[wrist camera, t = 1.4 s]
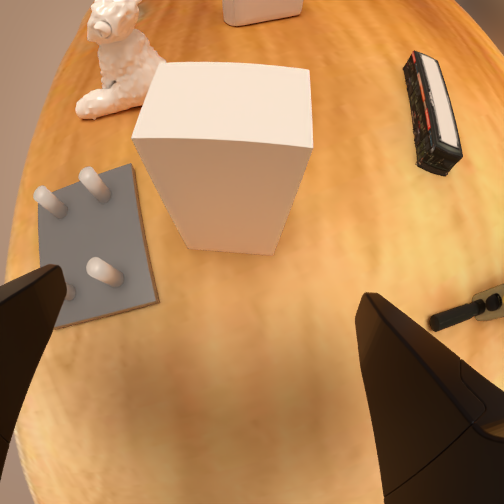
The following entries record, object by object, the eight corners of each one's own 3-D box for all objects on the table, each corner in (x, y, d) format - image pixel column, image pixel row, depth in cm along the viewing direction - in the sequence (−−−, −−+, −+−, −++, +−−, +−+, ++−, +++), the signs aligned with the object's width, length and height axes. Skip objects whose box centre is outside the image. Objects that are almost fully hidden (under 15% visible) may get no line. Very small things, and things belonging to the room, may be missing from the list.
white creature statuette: (121, 59, 28) (94, -25, 16) (190, 64, 27) (177, -34, 16) (77, 121, 25) (25, 34, 14) (150, 131, 25) (112, 21, 13)
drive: (273, 255, 22) (313, 148, 9) (188, 248, 22) (131, 138, 9) (275, 203, 23) (309, 69, 11) (195, 197, 23) (159, 63, 10)
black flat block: (370, 183, 25) (389, 157, 21) (363, 31, 32) (372, 8, 27) (491, 223, 24) (517, 207, 20) (454, 67, 31) (466, 49, 27)
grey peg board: (159, 302, 21) (139, 292, 16) (55, 329, 20) (20, 324, 15) (134, 169, 24) (117, 137, 19) (43, 203, 22) (16, 179, 18)
